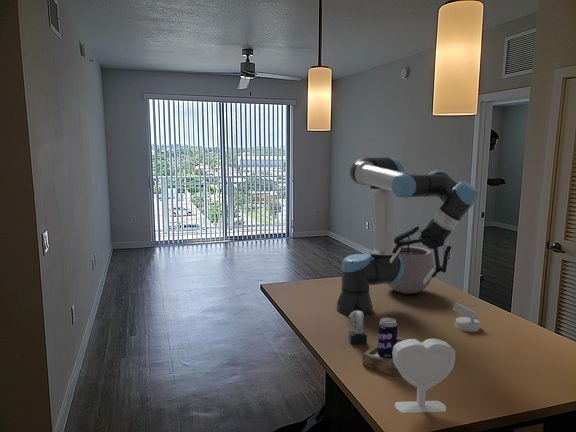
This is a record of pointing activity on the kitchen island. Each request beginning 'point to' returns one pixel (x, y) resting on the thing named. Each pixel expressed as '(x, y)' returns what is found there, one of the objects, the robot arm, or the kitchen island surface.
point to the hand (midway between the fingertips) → (407, 271)
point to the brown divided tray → (380, 361)
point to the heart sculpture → (423, 370)
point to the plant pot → (413, 269)
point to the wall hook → (466, 319)
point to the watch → (357, 328)
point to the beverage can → (387, 337)
